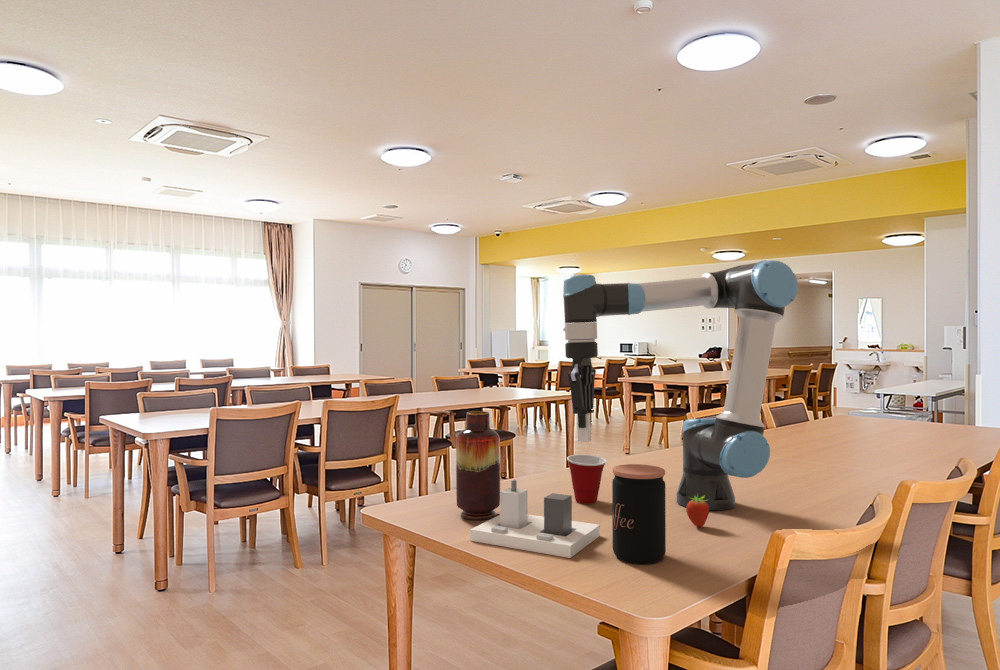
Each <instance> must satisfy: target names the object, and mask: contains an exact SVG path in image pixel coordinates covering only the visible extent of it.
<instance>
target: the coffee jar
mask: <svg viewBox="0 0 1000 670" xmlns="http://www.w3.org/2000/svg"><path fill="white" fill-rule="evenodd" d="M612 473H613V475H614V477H613V479H612V481H611V484H612V485H611V487H612V493H611V494H612V504H611V505H612V514H611V515H612V517H611V518H612V521H611V522H612V523H611V524H612V551H613V554H614V555H615V557H616V558H617V559H618V560H620V561H622V562H625V563H628V564H632V565H633V564H634V565H653V564H657V563H659V562H662V560H663V558H664V557H665V555H666V553H667V552H666V548H667V547H666V543H667V542H666V536H667V535H666V533H667V532H666V529H667V527H666V482H665V480H664V476H665V475H666V470H665V468H663V467H660V466H655V465H649V464H639V463H638V464H637V463H631V464H629V463H628V464H619V465H616V466H614V467H612Z"/></svg>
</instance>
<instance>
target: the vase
mask: <svg viewBox="0 0 1000 670" xmlns="http://www.w3.org/2000/svg"><path fill="white" fill-rule="evenodd" d="M465 417H466V423H465V425H466V426H465V428H464V429H463V430H461V431H460V432H459V433H458V434H457V435H456V436H455V437H456V440H455V442H456V445H455V449H456V450H455V452H456V453H455V458H456V459H455V460H456V461H455V463H456V467H455V468H456V469H455V471H456V476H455V477H456V484H455V485H456V487H455V488H456V491H455V493H456V506H457V508H458V509H460V510H461V512H460V517H461V518H462V519H465V520H470V521H488V520H490V519H492V518H494V517H496V516H497V513H496V511H495V509H498V508H500V492H501V439H500V437H501V436H500V435H499V434H498V433H499V432H497V431H496V430H494V429H492V428H491V426H490V425H491V423H490V412H489V411H484V410H483V411H482V410H475V411H472V410H471V411H467V412H466V415H465Z"/></svg>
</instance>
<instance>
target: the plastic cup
mask: <svg viewBox="0 0 1000 670" xmlns="http://www.w3.org/2000/svg"><path fill="white" fill-rule="evenodd" d="M566 460H567V461H568V466H569V467H568V468H569V471H570V478H571V483H572V484H571V485H572V489H573V495H574V499H575V502H576V503H578V504H582V505H584V504H585V505H593V504H596V503H597V501H598V497H599V492H600V486H601V481H602V476H603V471H604V468H605V465H606V463H607V459H606V458H603V457H601V456H597V455H591V454H580V453H579V454H572V455H569V456H567V457H566Z"/></svg>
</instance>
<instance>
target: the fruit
mask: <svg viewBox="0 0 1000 670" xmlns="http://www.w3.org/2000/svg"><path fill="white" fill-rule="evenodd" d="M704 497H705V495H704V496H702V497H701V498H698V494H697V497H696V496H694V498H695V499H694V498H690V497H689V498H690V499H692V500H691V501H690V502H689V503H688V504H687V507H685V512H686V515H687V517H688V519H689V520H690V522H691V523H692V524H693V525H694V526H695V527H697V528H702V527H704V525H705V524H706V522H707V520H708V516H709V514H710V510H709V506H708V504H707V503H706V502H705V501H707V500H702V499H703V498H704Z"/></svg>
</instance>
